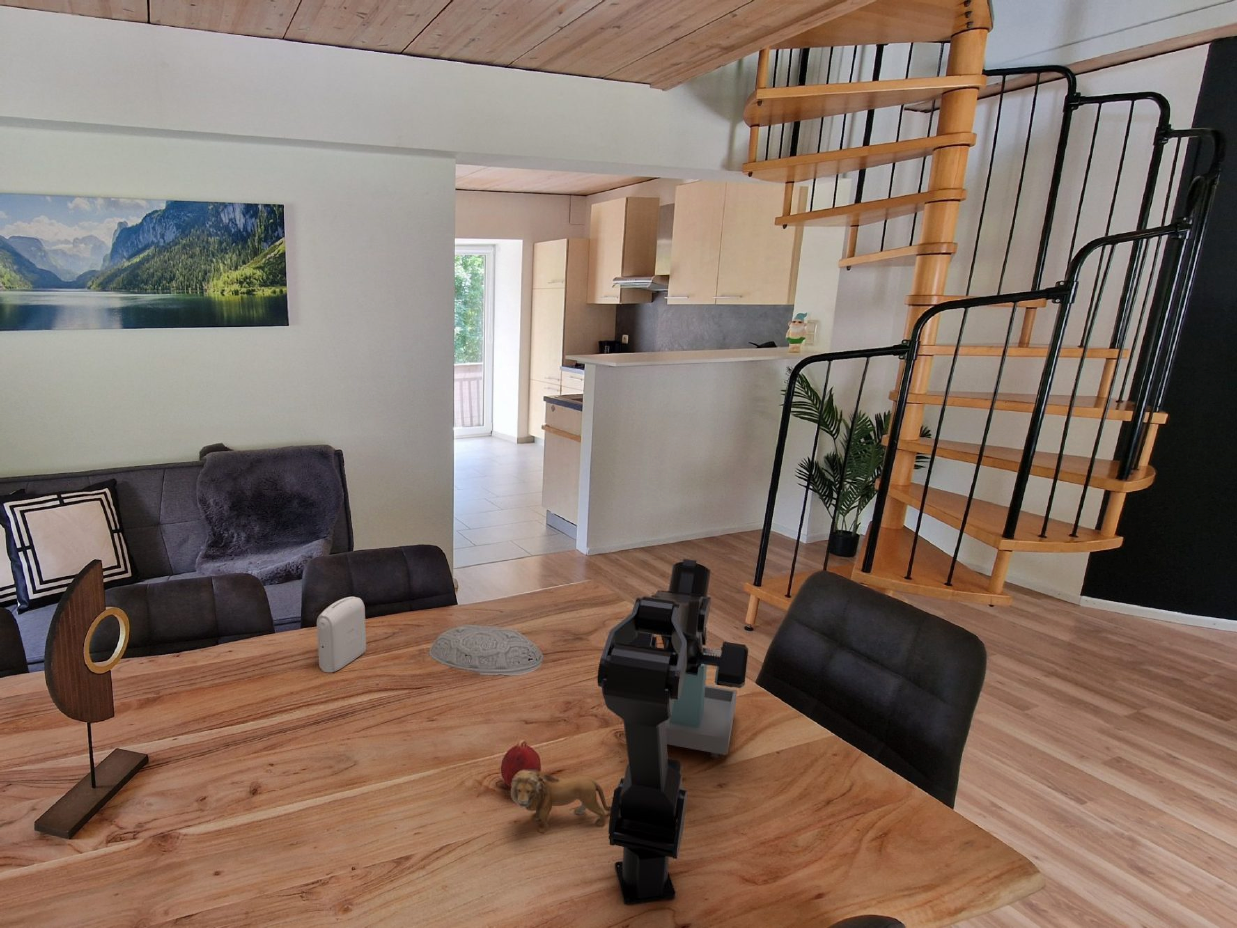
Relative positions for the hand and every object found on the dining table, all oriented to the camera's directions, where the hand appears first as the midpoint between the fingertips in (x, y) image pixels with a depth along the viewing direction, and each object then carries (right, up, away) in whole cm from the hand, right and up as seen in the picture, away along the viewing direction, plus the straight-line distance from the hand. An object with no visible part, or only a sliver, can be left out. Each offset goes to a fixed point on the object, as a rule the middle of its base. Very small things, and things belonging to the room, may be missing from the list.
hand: (688, 674), depth 122 cm
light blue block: (0, -8, +4) cm, 9 cm away
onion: (-26, -14, -12) cm, 32 cm away
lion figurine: (-20, -16, -18) cm, 31 cm away
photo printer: (-65, -4, +23) cm, 69 cm away
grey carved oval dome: (-38, -5, +28) cm, 48 cm away
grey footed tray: (0, -11, +4) cm, 12 cm away
